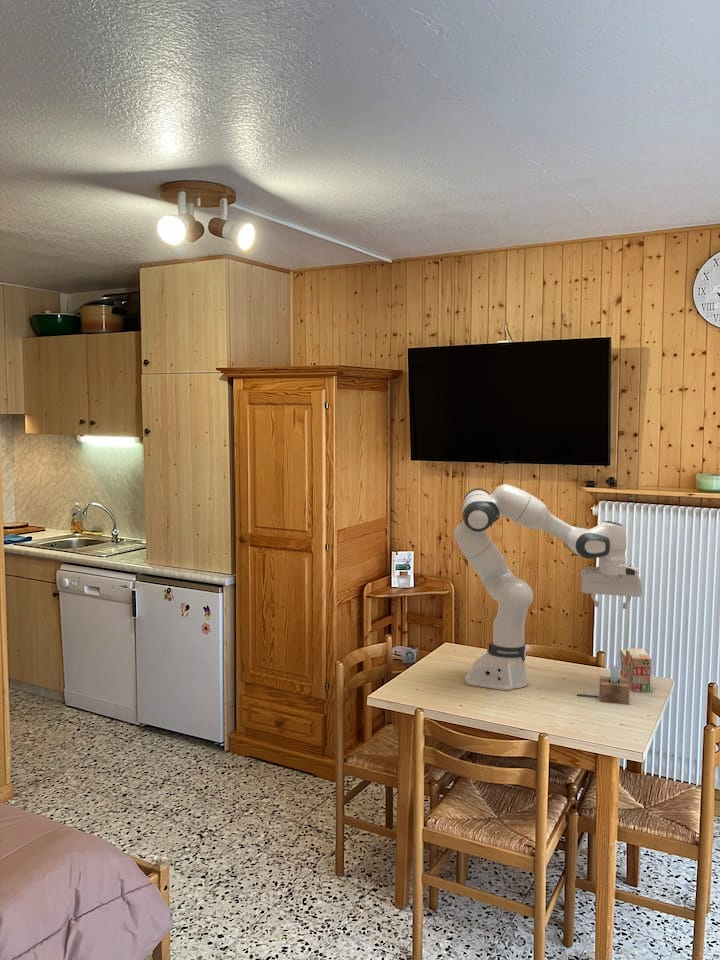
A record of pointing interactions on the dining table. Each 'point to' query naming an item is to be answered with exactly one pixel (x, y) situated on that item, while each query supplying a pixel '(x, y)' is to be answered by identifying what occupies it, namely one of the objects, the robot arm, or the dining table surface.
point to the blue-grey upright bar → (614, 674)
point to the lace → (587, 695)
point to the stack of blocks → (636, 669)
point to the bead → (614, 691)
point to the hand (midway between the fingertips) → (610, 607)
